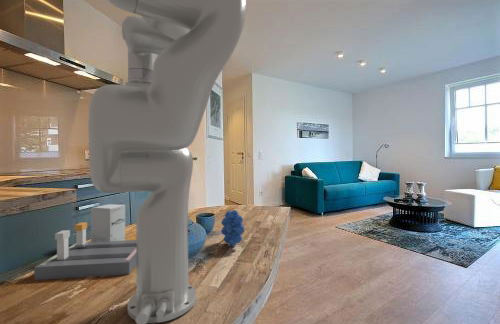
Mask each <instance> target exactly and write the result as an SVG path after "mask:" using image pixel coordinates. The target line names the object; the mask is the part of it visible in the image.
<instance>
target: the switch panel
mask: <svg viewBox="0 0 500 324" xmlns="http://www.w3.org/2000/svg"><path fill="white" fill-rule="evenodd" d="M70 236H71V230H70V229H67V230H66V229H65V230H60V231H59V232H56V233H54V240H55V241H56V254H55V255H53V256H51V257H50V258H48V259H46V260H44V261H42V262H41V263H39V264H37V265H35V266H34V267H33V274H34V277H33V278H34V279H33V280H35V281H39V280H41V281H42V280H56V279H73V278H90V277H91V278H93V277H104V276H106V277H108V276H121V275H130V274H131V273H132V272H133V270H134V269H136V268H135V267H137V258H136V239H133V240H132V239H131V240H126V239H125V240H124V241H103V242H91V241H87V242H88V245H86V246H85V247H77V248H74V245H76V244H77V243H76V242H75V243H74V244H72V245H70V246H69V238H70Z"/></svg>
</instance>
